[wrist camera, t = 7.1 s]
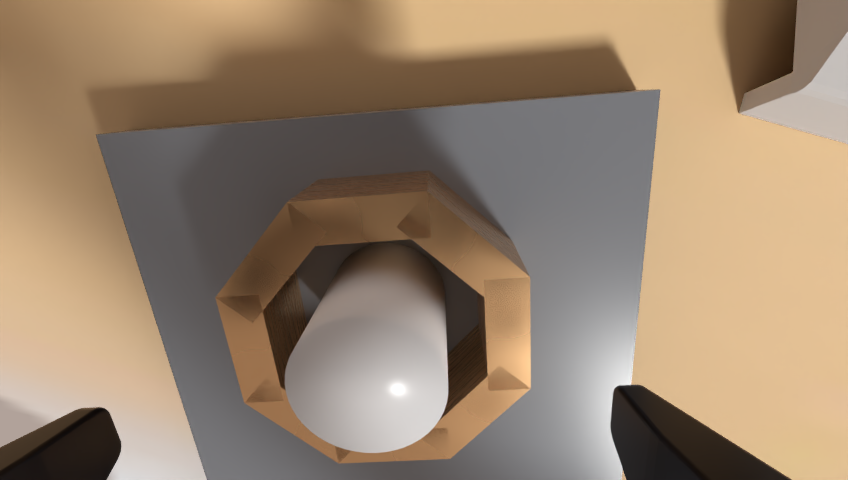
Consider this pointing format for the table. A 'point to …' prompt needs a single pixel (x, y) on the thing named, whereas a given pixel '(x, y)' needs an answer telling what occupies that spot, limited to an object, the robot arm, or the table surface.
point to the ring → (372, 222)
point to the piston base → (486, 164)
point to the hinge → (811, 76)
